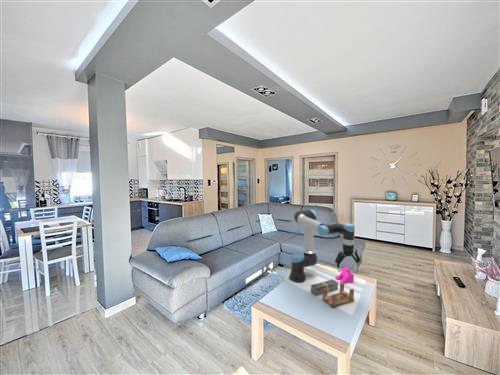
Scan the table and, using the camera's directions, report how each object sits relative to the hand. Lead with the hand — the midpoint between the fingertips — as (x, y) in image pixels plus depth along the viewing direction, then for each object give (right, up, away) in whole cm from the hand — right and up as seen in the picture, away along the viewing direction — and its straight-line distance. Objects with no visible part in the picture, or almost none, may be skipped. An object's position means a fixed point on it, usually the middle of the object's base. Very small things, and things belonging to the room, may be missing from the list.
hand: (347, 270), depth 161 cm
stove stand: (-5, -25, +5) cm, 26 cm away
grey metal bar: (-11, -24, +18) cm, 32 cm away
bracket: (+14, -23, +35) cm, 44 cm away
